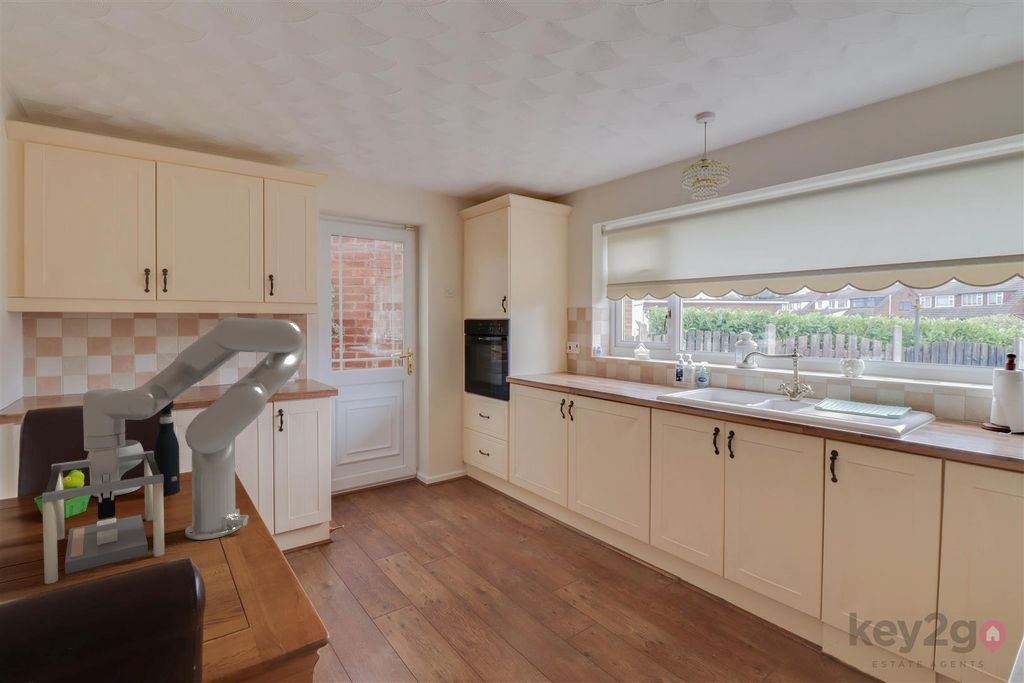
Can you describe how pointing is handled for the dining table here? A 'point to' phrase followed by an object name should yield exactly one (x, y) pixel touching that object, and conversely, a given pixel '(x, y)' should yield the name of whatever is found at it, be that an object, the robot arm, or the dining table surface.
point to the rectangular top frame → (104, 487)
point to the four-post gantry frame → (84, 538)
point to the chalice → (126, 463)
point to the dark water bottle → (167, 452)
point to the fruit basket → (71, 504)
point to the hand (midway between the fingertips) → (106, 516)
